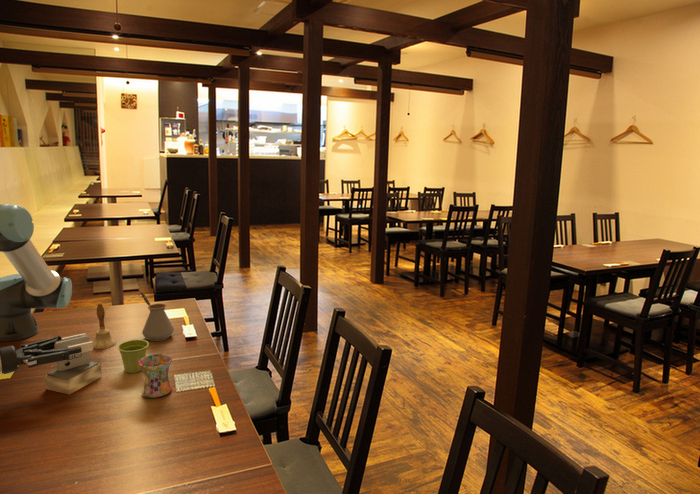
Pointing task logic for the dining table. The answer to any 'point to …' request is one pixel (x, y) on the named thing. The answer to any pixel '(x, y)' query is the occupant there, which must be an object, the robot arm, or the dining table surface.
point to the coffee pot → (157, 322)
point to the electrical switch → (74, 359)
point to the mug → (156, 375)
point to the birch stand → (73, 378)
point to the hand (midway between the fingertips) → (88, 341)
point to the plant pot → (133, 354)
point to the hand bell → (102, 332)
